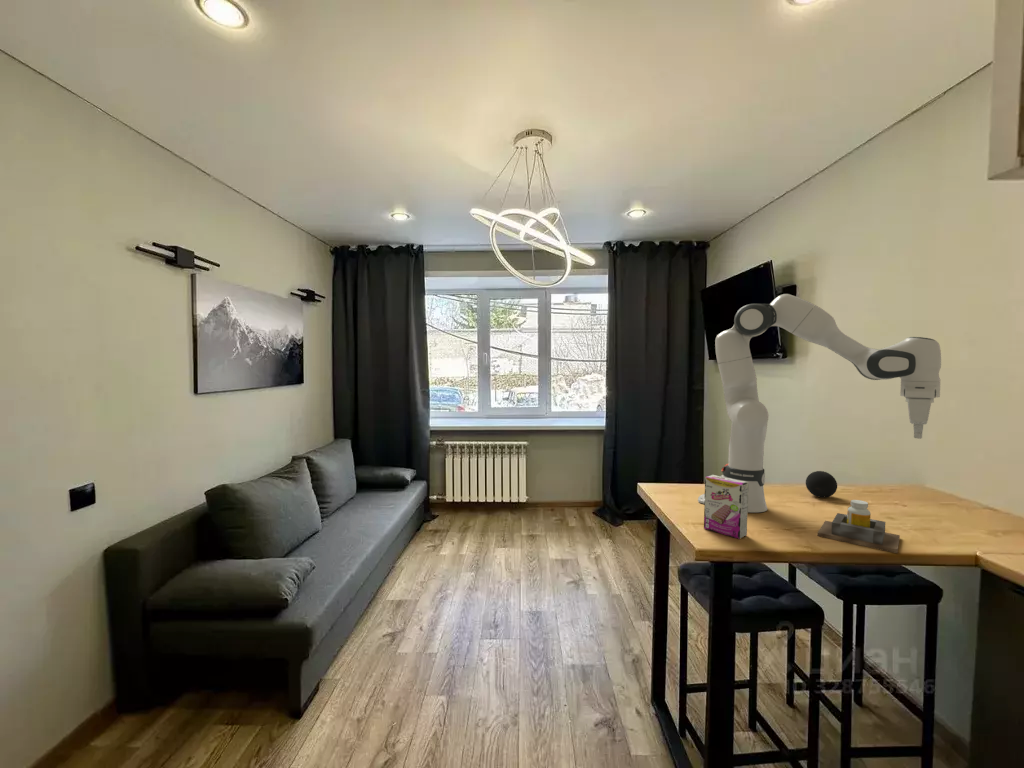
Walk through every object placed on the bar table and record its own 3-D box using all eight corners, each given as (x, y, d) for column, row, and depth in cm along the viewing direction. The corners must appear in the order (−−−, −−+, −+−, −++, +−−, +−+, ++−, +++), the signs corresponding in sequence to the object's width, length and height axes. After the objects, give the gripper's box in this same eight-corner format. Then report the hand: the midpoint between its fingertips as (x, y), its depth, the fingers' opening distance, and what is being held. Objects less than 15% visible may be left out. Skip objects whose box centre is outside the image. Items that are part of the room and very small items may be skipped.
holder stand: (817, 535, 132) (817, 520, 132) (825, 523, 143) (825, 509, 142) (897, 553, 120) (898, 536, 120) (899, 538, 130) (900, 523, 130)
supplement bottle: (842, 530, 134) (843, 499, 134) (859, 530, 134) (860, 498, 134) (856, 537, 129) (857, 504, 128) (874, 537, 129) (875, 504, 128)
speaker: (843, 501, 166) (844, 474, 166) (815, 500, 167) (816, 474, 166) (825, 493, 176) (826, 468, 176) (799, 493, 177) (800, 468, 176)
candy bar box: (702, 529, 138) (704, 476, 137) (710, 525, 141) (712, 474, 140) (740, 540, 129) (741, 484, 128) (747, 536, 132) (749, 481, 131)
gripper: (906, 389, 144) (905, 431, 145) (904, 391, 129) (903, 439, 130) (933, 389, 140) (931, 433, 141) (934, 392, 125) (932, 441, 126)
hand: (918, 436), depth 135 cm, fingers open, 8 cm apart
